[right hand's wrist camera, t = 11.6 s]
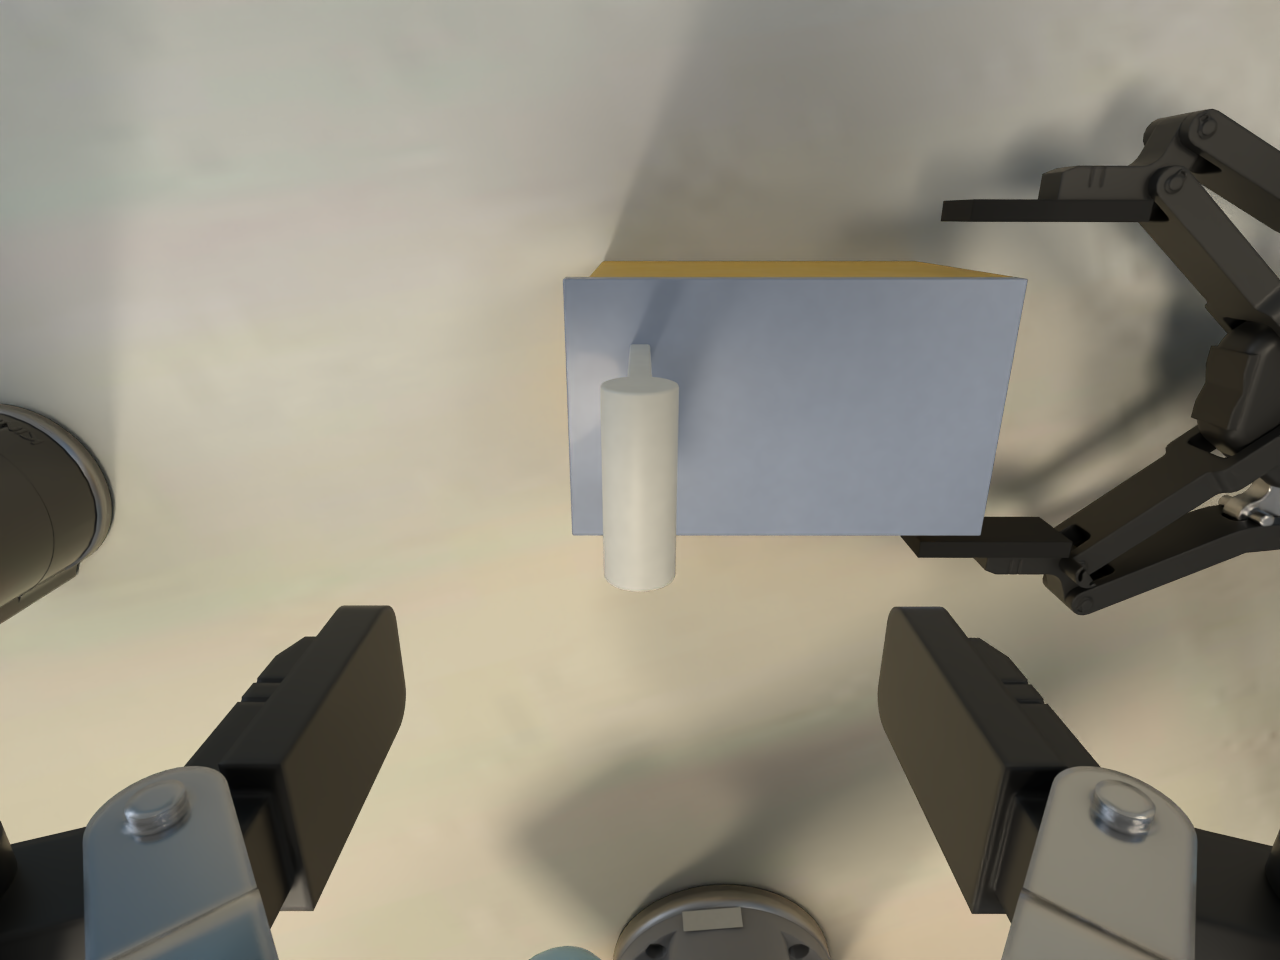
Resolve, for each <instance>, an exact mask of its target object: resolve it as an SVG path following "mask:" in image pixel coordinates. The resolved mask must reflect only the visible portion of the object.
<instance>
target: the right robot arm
mask: <svg viewBox="0 0 1280 960" xmlns="http://www.w3.org/2000/svg"><path fill="white" fill-rule="evenodd" d="M111 516H112V506H111V498H110V493H109V489H108V486H107V483H106V480H105V478H104V476H103V474H102V472H101V470H100V468H99V466H98V465H97V463H96V461H95V460H94V459H93V457H92V456H91V455H90V453H89V452H88V451H87V450H86V449H85V447H84V446H83V445H82V444H81V443H80V442H79V441H78V440H77V439H76V438H75V437H73V436H72V435H71V434H70V433H69V432H68V431H66V430H65V429H63V428H62V427H61V426H59V425H58V424H56V423H55V422H53V421H51V420H49V419H48V418H46V417H44V416H42V415H39V414H37V413H35V412H32V411H30V410H27V409H24V408H20V407H16V406H11V405H6V404H0V624H1V623H3V622H4V621H6V620H7V619H9V618H11V617H12V616H14V615H15V614H17V613H19V612H20V611H22V610H23V609H25V608H26V607H28V606H30V605H31V604H33V603H34V602H36V601H37V600H39V599H41V598H42V597H44V596H45V595H47V594H48V593H50V592H52V591H53V590H55V589H56V588H58V587H59V586H61V585H63V584H64V583H66V582H67V581H69V580H70V579H72V578H74V577H75V576H76V569H77V565H78V563H79V562H81V561H82V560H84V559H86V558H87V557H89V556H90V555H91V554H93V553H94V552H95V551H96V550H97V549H98V548H99V546H100V545H101V544H102V542H103V541H104V539H105V537H106V535H107V533H108V530H109V527H110V523H111ZM405 701H406V687H405V679H404V672H403V665H402V658H401V650H400V643H399V636H398V629H397V622H396V616H395V613H394V611H393V609H392V607H390V606H341V607H339V608H338V609H337V611H336V612H335V613H334V614H333V616H332V617H331V618H330V620H329V621H328V622H327V623H326V625H325V626H324V627H323V629H322V630H321V631H320V633H319V634H318V635H317V636H316V637H304V638H302V639H301V640H299V641H298V642H296V643H295V644H293V645H292V646H290V647H289V648H287V649H286V650H284V651H283V652H281V653H280V654H278V655H277V656H275V658H274V659H273V660H272V661H271V662H270V664H269V665H268V666H267V667H266V668H265V670H264V671H263V672H262V673H261V674H260V676H259V677H258V678H257V683H253V684H252V685H251V687H250V688H249V689H248V690H247V691H246V693H245V694H244V695H243V696H242V700H241V702H237V703H236V705H235V706H234V707H233V708H232V709H231V711H230V712H229V713H228V714H227V715H226V717H225V718H224V719H223V720H222V721H221V723H220V724H219V725H218V726H217V727H216V729H215V730H214V731H213V732H212V733H211V735H210V736H209V737H208V738H207V740H206V741H205V742H204V743H203V744H202V746H201V747H200V748H199V749H198V750H197V752H196V753H195V754H194V755H193V756H192V758H191V759H190V760H189V761H188V762H187V764H186V765H185V766H184V767H179V768H174V769H170V770H165V771H162V772H159V773H156V774H153V775H151V776H148V777H146V778H144V779H141V780H139V781H138V782H136V783H134V784H132V785H130V786H128V787H127V788H125V789H123V790H122V791H120V792H119V793H117V794H116V795H115V796H113V797H112V798H111V799H109V800H108V801H107V802H106V803H105V804H104V805H103V806H102V807H101V808H99V810H98V811H97V812H96V813H95V814H94V815H93V817H92V818H91V820H90V821H89V823H88V824H87V826H86V827H83V828H79V829H75V830H70V831H66V832H62V833H58V834H53V835H49V836H45V837H40V838H36V839H32V840H27V841H23V842H19V843H15V844H10V843H9V840H8V838H7V835H6V833H5V831H4V828H3V826H2V823H1V821H0V960H279V959H278V955H277V952H276V948H275V945H274V941H273V938H272V934H271V931H270V929H271V927H272V925H273V923H274V921H275V919H276V917H277V915H278V913H279V911H314V908H315V906H316V904H317V902H318V900H319V898H320V896H321V894H322V891H323V889H324V887H325V885H326V883H327V881H328V879H329V877H330V874H331V872H332V870H333V868H334V866H335V864H336V862H337V860H338V857H339V855H340V853H341V851H342V849H343V847H344V845H345V843H346V840H347V838H348V836H349V834H350V832H351V830H352V828H353V826H354V824H355V821H356V819H357V817H358V815H359V813H360V811H361V809H362V807H363V804H364V802H365V800H366V798H367V796H368V794H369V792H370V790H371V787H372V785H373V783H374V781H375V779H376V777H377V775H378V773H379V770H380V768H381V766H382V764H383V762H384V760H385V758H386V756H387V753H388V751H389V749H390V747H391V745H392V743H393V741H394V739H395V736H396V734H397V732H398V730H399V728H400V725H401V722H402V719H403V715H404V710H405ZM878 707H879V713H880V718H881V722H882V725H883V728H884V730H885V732H886V734H887V736H888V739H889V741H890V743H891V745H892V747H893V749H894V751H895V753H896V755H897V757H898V760H899V762H900V764H901V766H902V768H903V770H904V772H905V774H906V776H907V778H908V781H909V783H910V785H911V787H912V789H913V791H914V793H915V795H916V797H917V799H918V801H919V804H920V806H921V808H922V810H923V812H924V814H925V816H926V818H927V820H928V822H929V825H930V827H931V829H932V831H933V833H934V835H935V837H936V839H937V841H938V843H939V846H940V848H941V850H942V852H943V854H944V856H945V858H946V860H947V862H948V864H949V866H950V869H951V871H952V873H953V875H954V877H955V879H956V881H957V883H958V885H959V887H960V890H961V892H962V894H963V896H964V898H965V900H966V902H967V904H968V906H969V908H970V911H971V913H972V914H1006V915H1007V917H1008V918H1009V920H1010V922H1011V927H1010V931H1009V934H1008V938H1007V941H1006V945H1005V948H1004V952H1003V955H1002V959H1001V960H1280V830H1279V833H1278V835H1277V838H1276V840H1275V842H1274V845H1273V846H1269V845H1265V844H1260V843H1256V842H1252V841H1248V840H1243V839H1239V838H1235V837H1230V836H1226V835H1222V834H1217V833H1213V832H1209V831H1205V830H1201V829H1197V828H1194V826H1193V824H1192V823H1191V821H1190V820H1189V818H1188V817H1187V815H1186V814H1185V813H1184V812H1183V811H1182V810H1181V808H1179V807H1178V806H1177V805H1176V804H1175V803H1174V802H1173V801H1172V800H1171V799H1169V798H1168V797H1167V796H1165V795H1164V794H1163V793H1161V792H1160V791H1158V790H1157V789H1155V788H1153V787H1152V786H1150V785H1148V784H1146V783H1144V782H1142V781H1141V780H1139V779H1136V778H1134V777H1132V776H1129V775H1127V774H1124V773H1121V772H1118V771H1115V770H1110V769H1106V768H1101V767H1100V766H1099V765H1098V763H1097V762H1096V761H1095V760H1094V759H1093V757H1092V756H1091V755H1090V754H1089V753H1088V752H1087V750H1086V749H1085V748H1084V747H1083V746H1082V744H1081V743H1080V742H1079V741H1078V740H1077V738H1076V737H1075V736H1074V735H1073V734H1072V732H1071V731H1070V730H1069V729H1068V728H1067V726H1066V725H1065V724H1064V723H1063V722H1062V720H1061V719H1060V718H1059V717H1058V716H1057V715H1056V713H1055V712H1054V711H1053V710H1052V709H1051V707H1050V706H1049V705H1048V704H1044V702H1043V698H1042V697H1041V695H1040V694H1039V693H1038V692H1037V691H1036V689H1035V688H1034V687H1033V686H1032V685H1028V682H1027V679H1026V678H1025V676H1024V675H1023V674H1022V673H1021V672H1020V670H1019V669H1018V668H1017V667H1016V666H1015V664H1014V663H1013V662H1012V661H1011V660H1010V658H1009V657H1007V656H1006V655H1004V654H1003V653H1001V652H1000V651H998V650H997V649H995V648H994V647H992V646H991V645H989V644H987V643H986V642H984V641H983V640H981V639H980V638H968V637H967V636H966V635H965V633H964V632H963V631H962V630H961V628H960V627H959V626H958V624H957V623H956V622H955V621H954V619H953V618H952V617H951V615H950V614H949V613H948V612H947V611H946V609H944V608H943V607H894V608H892V610H891V611H890V614H889V617H888V621H887V628H886V635H885V642H884V649H883V656H882V663H881V671H880V678H879V685H878Z"/></svg>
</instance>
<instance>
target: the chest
mask: <svg viewBox="0 0 1280 960" xmlns="http://www.w3.org/2000/svg"><path fill="white" fill-rule="evenodd" d="M590 277H1011V276H1005V275H998V274H992V273H986V272H980V271H973V270H967V269H961V268H955V267H948V266H942V265H936V264H930V263H923V262H916V261H604V262H602V263H601V264H600V265H599V266H598V268H597V269H596V270H595V271H594V272H593V273H592V275H591V276H590Z"/></svg>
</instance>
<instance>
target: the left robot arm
mask: <svg viewBox="0 0 1280 960" xmlns="http://www.w3.org/2000/svg"><path fill="white" fill-rule="evenodd" d="M1143 142H1144V148H1143V150H1142V152H1141V154H1140V155H1139V156H1138V158H1137V159H1136V160H1135V161H1134V162H1133V163H1132V164H1130V165H1128V166H1072V167H1064V168H1056V169H1054V170H1051V171H1049V172H1046V173H1044V174H1043V175H1042V180H1041V186H1040V191H1039V196H1038V200H999V199H973V200H954V201H944V202H943V209H942V216H941V221H961V222H1139V224H1140V225H1141V226H1142V227H1143V228H1144V229H1145V230H1146V232H1147V233H1148V234H1149V235H1150V236H1151V237H1152V238H1153V240H1154V241H1155V242H1156V243H1157V244H1158V245H1159V246H1160V248H1161V249H1162V250H1163V251H1164V252H1165V253H1166V255H1167V256H1168V257H1169V258H1170V259H1171V260H1172V261H1173V263H1174V264H1175V265H1176V266H1177V267H1178V268H1179V269H1180V271H1181V272H1182V273H1183V274H1184V275H1185V276H1186V277H1187V279H1188V280H1189V281H1190V282H1191V283H1192V284H1193V285H1194V287H1195V288H1196V289H1197V290H1198V291H1199V292H1200V293H1201V295H1202V296H1203V297H1204V298H1205V299H1206V301H1207V304H1206V305H1205V308H1206V309H1207V310H1208V312H1209V313H1210V314H1211V315H1212V316H1213V317H1214V318H1215V320H1216V321H1217V322H1218V323H1219V324H1220V325H1221V326H1222V328H1223V329H1224V330H1225V331H1226V332H1227V333H1228V334H1227V335H1226V336H1225V337H1224V338H1223V339H1222V341H1221V342H1220V344H1219V345H1218V346H1211V348H1210V352H1209V355H1208V359H1207V362H1206V382H1205V385H1204V386H1203V388H1202V390H1201V392H1200V393H1199V395H1198V397H1197V399H1196V401H1195V405H1194V408H1193V412H1192V415H1191V417H1192V418H1194V419H1197V423H1198V425H1197V426H1195V427H1194V428H1192V429H1191V430H1189V431H1188V432H1186V433H1184V434H1183V435H1181V436H1180V437H1178V438H1177V439H1175V440H1174V441H1172V442H1171V443H1170V444H1168V445H1167V447H1166V454H1165V455H1164V456H1163V457H1161V458H1160V459H1158V460H1157V461H1155V462H1153V463H1152V464H1150V465H1149V466H1147V467H1146V468H1144V469H1143V470H1141V471H1140V472H1138V473H1137V474H1135V475H1134V476H1132V477H1131V478H1129V479H1128V480H1126V481H1125V482H1123V483H1122V484H1120V485H1118V486H1117V487H1115V488H1114V489H1112V490H1111V491H1109V492H1108V493H1106V494H1105V495H1103V496H1102V497H1100V498H1099V499H1097V500H1096V501H1094V502H1093V503H1091V504H1090V505H1088V506H1087V507H1085V508H1084V509H1082V510H1080V511H1079V512H1077V513H1076V514H1074V515H1073V516H1071V517H1070V518H1068V519H1067V520H1065V521H1064V522H1062V523H1061V524H1059V525H1058V526H1056V527H1055V528H1053V527H1052V526H1050V525H1049V524H1048V523H1046V522H1045V521H1044V520H1042V519H1041V518H1040V517H984V519H983V524H982V529H981V535H979V536H967V535H900V536H901V537H902V538H903V540H904V541H905V542H906V543H907V545H908V546H909V547H910V548H911V549H912V551H913V552H914V553H915V554H916V555H917V557H918V558H974V559H975V560H976V561H977V562H978V563H979V564H980V565H981V566H982V567H983V568H984V569H985V570H986V571H989V572H991V573H994V574H1044V576H1043V584H1044V585H1045V586H1046V587H1047V588H1048V589H1049V590H1050V591H1051V592H1052V593H1053V594H1054V595H1055V596H1057V597H1058V598H1059V599H1060V600H1061V601H1062V602H1063V603H1064V604H1065V605H1066V606H1068V607H1069V608H1070V609H1071V610H1072V611H1073V612H1074V613H1076V614H1078V615H1087V614H1090V613H1092V612H1095V611H1098V610H1100V609H1103V608H1105V607H1108V606H1110V605H1113V604H1116V603H1118V602H1121V601H1123V600H1126V599H1128V598H1131V597H1134V596H1136V595H1139V594H1141V593H1144V592H1146V591H1149V590H1151V589H1154V588H1157V587H1159V586H1162V585H1164V584H1167V583H1169V582H1172V581H1175V580H1177V579H1180V578H1182V577H1185V576H1187V575H1190V574H1193V573H1195V572H1198V571H1200V570H1203V569H1205V568H1208V567H1210V566H1213V565H1216V564H1218V563H1221V562H1223V561H1226V560H1228V559H1231V558H1234V557H1236V556H1239V555H1241V554H1244V553H1248V552H1258V551H1268V550H1279V549H1280V280H1279V278H1278V277H1277V276H1276V275H1275V273H1274V272H1273V271H1272V270H1271V269H1270V267H1269V266H1268V265H1267V264H1266V263H1265V261H1264V260H1263V259H1262V258H1261V257H1260V255H1259V254H1258V253H1257V252H1256V251H1255V249H1254V248H1253V247H1252V246H1251V245H1250V243H1249V242H1248V241H1247V240H1246V238H1245V237H1244V236H1243V235H1242V234H1241V232H1240V231H1239V230H1238V229H1237V228H1236V226H1235V225H1234V224H1233V223H1232V222H1231V220H1230V219H1229V218H1228V217H1227V216H1226V214H1225V213H1224V212H1223V211H1222V210H1221V208H1220V207H1219V206H1218V205H1217V204H1216V202H1215V201H1214V200H1213V199H1212V197H1211V196H1210V195H1209V194H1208V193H1207V191H1206V190H1205V189H1204V188H1203V187H1202V185H1203V186H1205V187H1207V188H1208V189H1210V190H1211V191H1213V192H1214V193H1216V194H1218V195H1219V196H1221V197H1222V198H1224V199H1226V200H1227V201H1229V202H1230V203H1232V204H1233V205H1235V206H1237V207H1238V208H1240V209H1241V210H1243V211H1245V212H1246V213H1248V214H1249V215H1251V216H1252V217H1254V218H1256V219H1257V220H1259V221H1260V222H1262V223H1264V224H1265V225H1267V226H1268V227H1270V228H1271V229H1273V230H1275V231H1277V232H1279V233H1280V151H1279V150H1277V149H1276V148H1274V147H1273V146H1271V145H1270V144H1268V143H1267V142H1265V141H1264V140H1262V139H1261V138H1259V137H1258V136H1256V135H1255V134H1253V133H1251V132H1250V131H1248V130H1247V129H1245V128H1244V127H1242V126H1241V125H1239V124H1238V123H1236V122H1235V121H1233V120H1232V119H1230V118H1229V117H1227V116H1226V115H1224V114H1223V113H1221V112H1219V111H1217V110H1214V109H1208V110H1202V111H1196V112H1191V113H1186V114H1181V115H1175V116H1170V117H1165V118H1160V119H1157V120H1155V121H1153V122H1152V123H1151V124H1150V125H1149V126H1148V127H1147V129H1146V131H1145V133H1144V138H1143ZM1201 184H1202V185H1201ZM1216 448H1217V449H1218V450H1219V451H1220V452H1221V453H1222V454H1224V455H1225V456H1226V457H1227V458H1222V457H1218V456H1216V455H1214V454H1211V453H1210V452H1212V451H1213V450H1215V449H1216ZM1252 482H1253V483H1252ZM1250 483H1252V485H1251V486H1250V488H1249V489H1248V490H1247V491H1245V492H1243V493H1241V494H1238V495H1236V496H1233V497H1232V496H1230V495H1224V496H1222V497H1221V498H1220V499H1219V501H1218V503H1219V505H1216V506H1209V507H1205V508H1201V509H1198V510H1195V511H1192V512H1190V511H1191V510H1193V509H1194V508H1196V507H1198V506H1199V505H1201V504H1202V503H1204V502H1206V501H1207V500H1209V499H1210V498H1212V497H1213V496H1215V495H1217V494H1220V493H1232V492H1236V491H1238V490H1241V489H1243V488H1244V487H1246V486H1247V485H1249V484H1250ZM1188 512H1189V513H1188ZM529 960H601V959H599V958H598V957H597V956H596V955H594V954H593V953H591V952H590V951H588V950H585V949H583V948H580V947H573V946H563V947H556V948H552V949H549V950H546V951H544V952H541V953H539V954H537V955H535V956H533V957H532V958H531V959H529ZM613 960H831V959H830V955H829V952H828V948H827V944H826V940H825V938H824V935H823V933H822V931H821V929H820V927H819V926H818V925H817V923H816V922H815V921H814V919H813V918H812V917H811V916H810V915H809V914H808V913H807V912H806V911H804V910H803V909H802V908H801V907H799V906H798V905H796V904H795V903H793V902H792V901H790V900H788V899H786V898H784V897H782V896H780V895H778V894H775V893H772V892H769V891H766V890H762V889H758V888H754V887H748V886H740V885H710V886H701V887H696V888H691V889H687V890H683V891H680V892H677V893H674V894H671V895H669V896H667V897H664V898H662V899H660V900H658V901H656V902H654V903H653V904H651V905H650V906H648V907H647V908H645V909H644V910H642V911H641V912H640V913H639V914H637V915H636V916H635V917H634V918H633V919H632V920H631V921H630V923H629V924H628V925H627V926H626V927H625V929H624V930H623V932H622V933H621V935H620V937H619V939H618V941H617V944H616V947H615V951H614V956H613Z"/></svg>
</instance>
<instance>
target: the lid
mask: <svg viewBox="0 0 1280 960" xmlns="http://www.w3.org/2000/svg"><path fill="white" fill-rule="evenodd" d="M1027 281H1028V280H1027V279H1024V278H1017V277H566V278H564V279H563V294H564V321H565V349H566V376H567V403H568V430H569V457H570V484H571V512H572V534H573V535H603V550H604V576H605V579H606V580H607V582H608V583H610V584H611V585H612V586H614V587H616V588H619V589H622V590H626V591H634V592H646V591H653V590H657V589H660V588H663V587H665V586H667V585H668V584H670V583H671V582H672V581H673V579H674V577H675V567H676V535H967V536H979V535H981V529H982V524H983V519H984V513H985V508H986V502H987V497H988V492H989V486H990V481H991V475H992V470H993V465H994V459H995V454H996V448H997V443H998V438H999V432H1000V427H1001V421H1002V416H1003V411H1004V405H1005V400H1006V394H1007V389H1008V384H1009V378H1010V373H1011V367H1012V362H1013V357H1014V351H1015V346H1016V340H1017V335H1018V330H1019V324H1020V319H1021V313H1022V308H1023V303H1024V297H1025V292H1026V286H1027Z"/></svg>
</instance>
